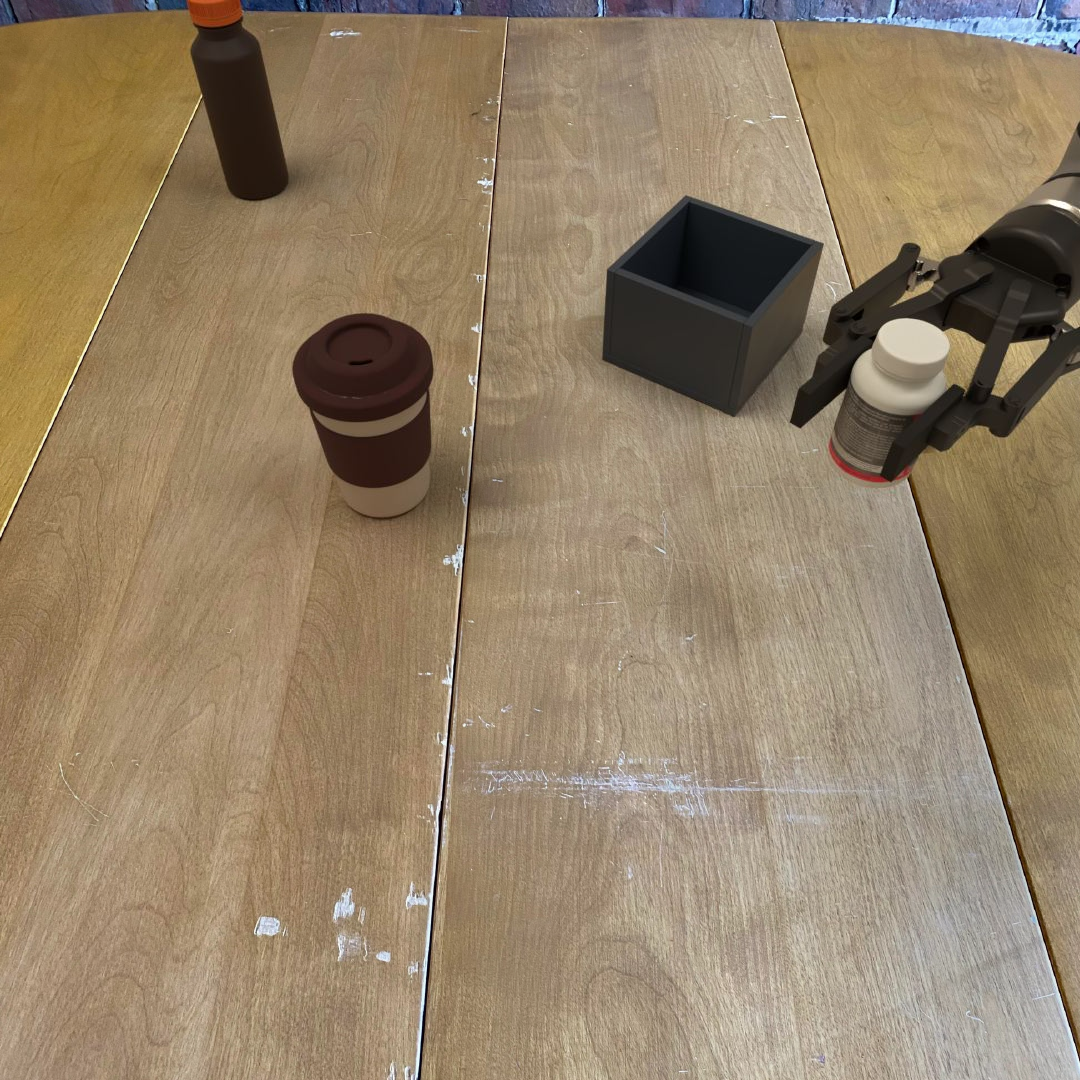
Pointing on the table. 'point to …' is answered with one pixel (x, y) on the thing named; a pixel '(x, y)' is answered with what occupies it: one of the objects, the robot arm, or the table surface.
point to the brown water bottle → (237, 99)
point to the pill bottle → (887, 398)
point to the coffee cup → (370, 409)
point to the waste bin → (708, 302)
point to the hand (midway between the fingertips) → (844, 434)
